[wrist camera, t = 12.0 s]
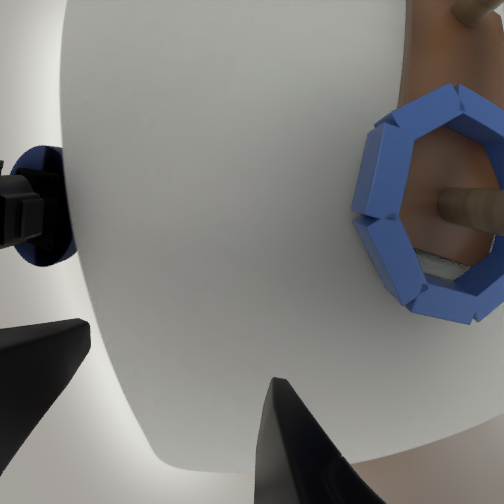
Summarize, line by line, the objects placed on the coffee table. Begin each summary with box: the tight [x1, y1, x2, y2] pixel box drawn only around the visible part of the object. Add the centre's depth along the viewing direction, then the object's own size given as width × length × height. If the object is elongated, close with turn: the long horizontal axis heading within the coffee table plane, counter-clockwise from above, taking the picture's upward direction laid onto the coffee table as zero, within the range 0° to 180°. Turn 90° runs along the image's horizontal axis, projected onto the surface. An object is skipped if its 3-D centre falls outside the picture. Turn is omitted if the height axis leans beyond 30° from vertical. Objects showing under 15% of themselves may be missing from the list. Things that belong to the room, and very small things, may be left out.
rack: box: [397, 0, 504, 267], centre depth 10 cm, size 8×20×8 cm, turn 167°
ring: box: [351, 83, 504, 325], centre depth 12 cm, size 12×12×3 cm
